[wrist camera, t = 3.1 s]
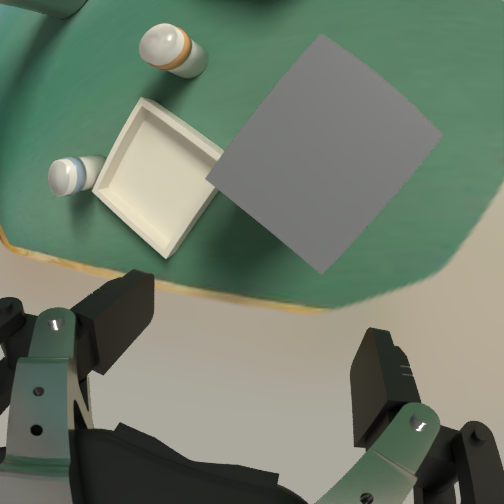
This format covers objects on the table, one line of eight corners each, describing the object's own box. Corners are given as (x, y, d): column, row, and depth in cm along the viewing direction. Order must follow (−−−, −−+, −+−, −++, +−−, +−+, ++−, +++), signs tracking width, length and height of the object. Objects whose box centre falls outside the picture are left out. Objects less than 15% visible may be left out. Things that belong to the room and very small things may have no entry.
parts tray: (104, 188, 33) (91, 191, 31) (153, 99, 28) (141, 97, 26) (176, 251, 33) (166, 259, 31) (239, 162, 28) (232, 163, 26)
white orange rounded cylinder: (165, 69, 27) (129, 54, 20) (188, 38, 25) (156, 16, 19) (193, 86, 27) (160, 71, 20) (217, 54, 25) (189, 31, 19)
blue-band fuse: (82, 175, 33) (43, 183, 27) (95, 147, 31) (55, 151, 25) (101, 194, 33) (63, 205, 27) (116, 166, 32) (76, 172, 25)
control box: (253, 163, 28) (195, 171, 15) (315, 85, 24) (309, 26, 11) (325, 222, 28) (327, 279, 16) (390, 146, 25) (449, 141, 12)
